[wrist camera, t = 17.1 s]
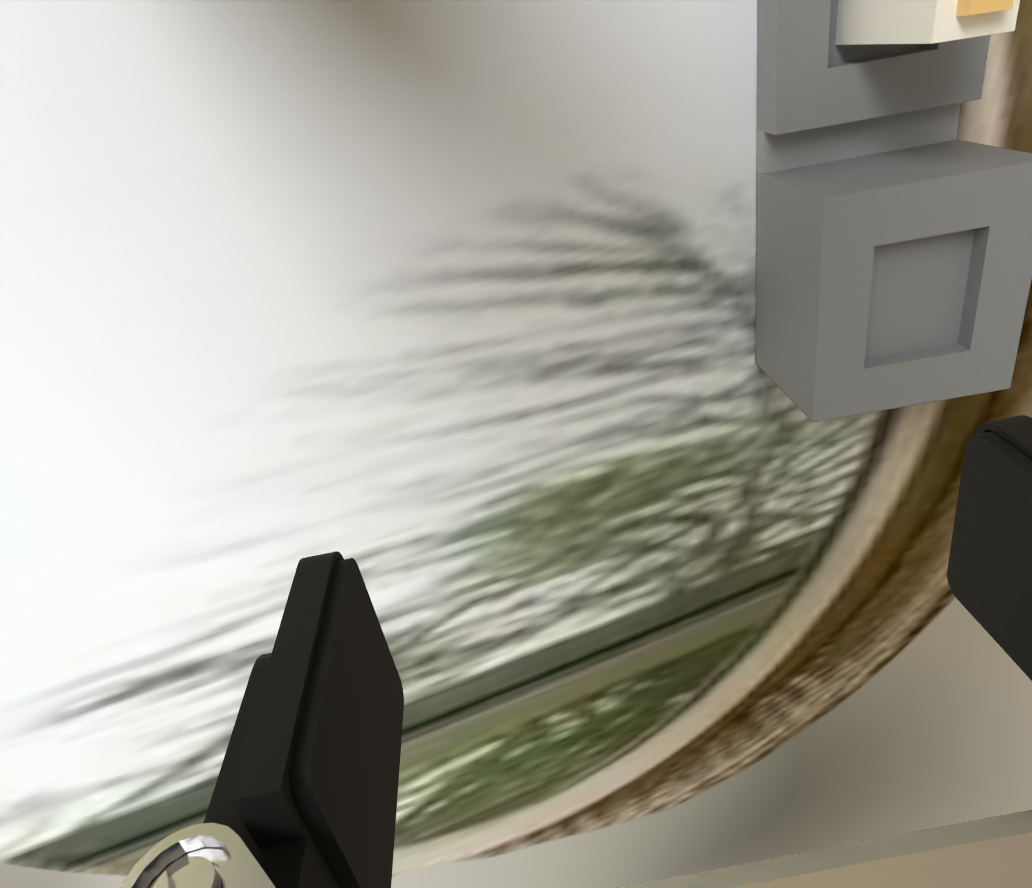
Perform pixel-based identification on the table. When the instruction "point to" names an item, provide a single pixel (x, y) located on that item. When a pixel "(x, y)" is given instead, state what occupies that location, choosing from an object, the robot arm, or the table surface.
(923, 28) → the plug
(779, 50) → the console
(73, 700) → the table surface
